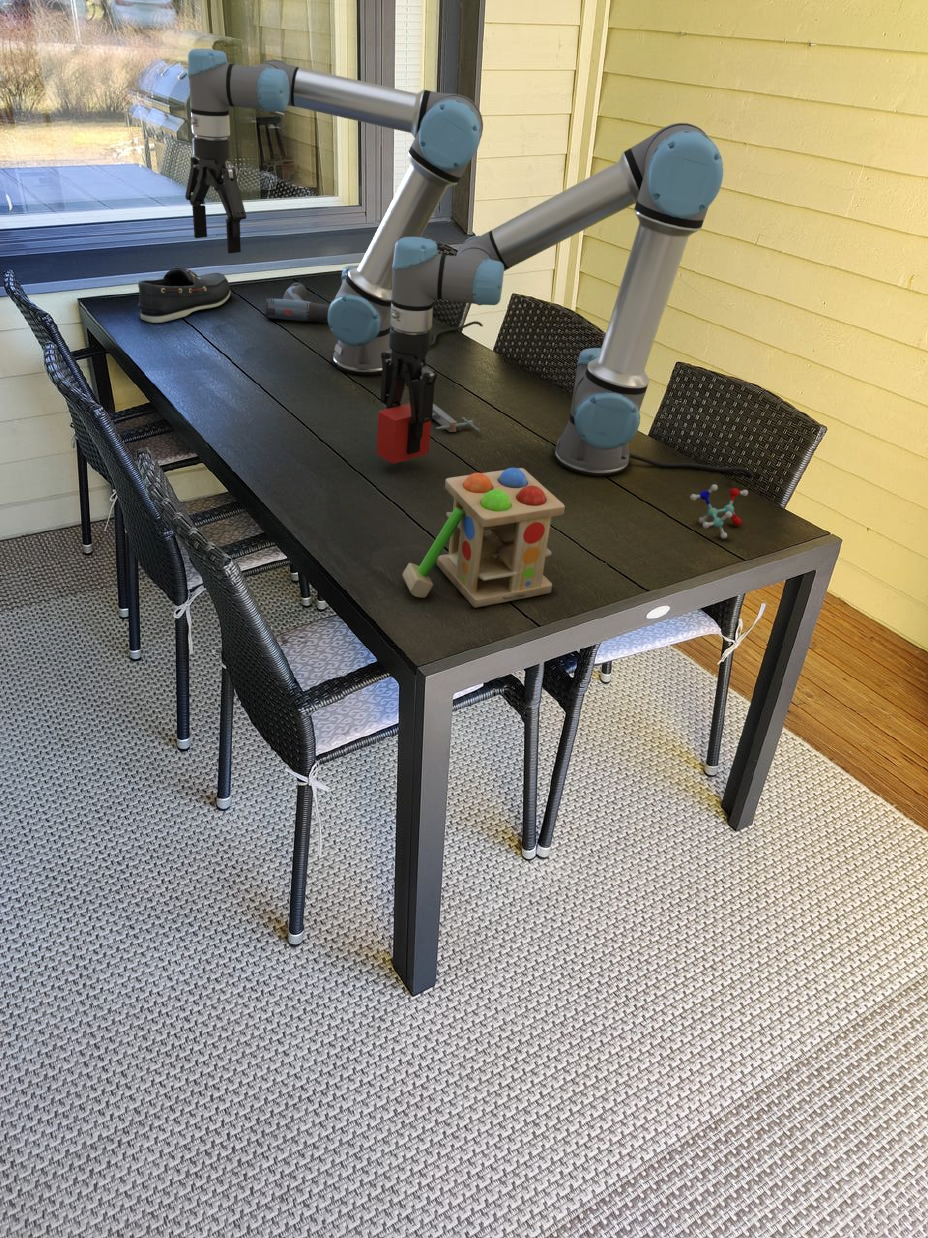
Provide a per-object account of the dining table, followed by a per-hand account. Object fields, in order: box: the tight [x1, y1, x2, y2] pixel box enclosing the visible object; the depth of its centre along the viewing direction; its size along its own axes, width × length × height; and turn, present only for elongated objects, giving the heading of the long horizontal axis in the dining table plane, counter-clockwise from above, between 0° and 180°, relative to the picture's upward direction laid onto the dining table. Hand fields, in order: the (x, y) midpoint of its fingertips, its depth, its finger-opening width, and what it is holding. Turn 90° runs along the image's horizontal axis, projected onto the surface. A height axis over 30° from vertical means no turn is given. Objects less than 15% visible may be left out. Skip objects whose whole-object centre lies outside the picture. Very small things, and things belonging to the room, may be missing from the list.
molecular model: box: [689, 483, 749, 540], centre depth 181 cm, size 12×10×10 cm
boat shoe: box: [137, 266, 232, 324], centre depth 260 cm, size 13×33×10 cm, turn 147°
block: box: [376, 402, 432, 465], centre depth 189 cm, size 5×9×9 cm, turn 133°
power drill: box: [264, 282, 330, 322], centre depth 265 cm, size 5×19×20 cm
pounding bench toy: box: [401, 467, 566, 608], centre depth 155 cm, size 23×14×18 cm, turn 116°
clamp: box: [432, 403, 482, 434], centre depth 211 cm, size 15×2×10 cm
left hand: (217, 244), depth 212 cm, fingers open, 13 cm apart
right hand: (403, 446), depth 191 cm, fingers closed on block, 5 cm apart
